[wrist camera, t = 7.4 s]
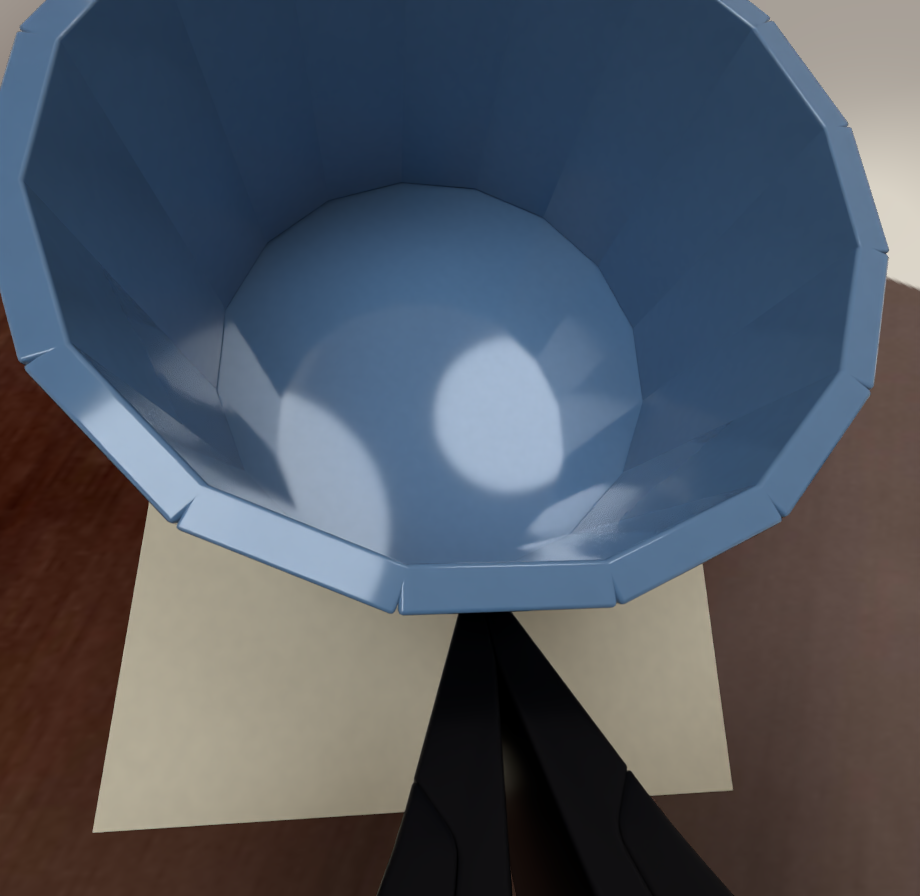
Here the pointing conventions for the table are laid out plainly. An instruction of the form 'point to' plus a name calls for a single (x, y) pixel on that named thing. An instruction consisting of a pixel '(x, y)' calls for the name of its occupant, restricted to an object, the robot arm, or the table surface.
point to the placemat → (362, 691)
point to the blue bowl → (442, 281)
